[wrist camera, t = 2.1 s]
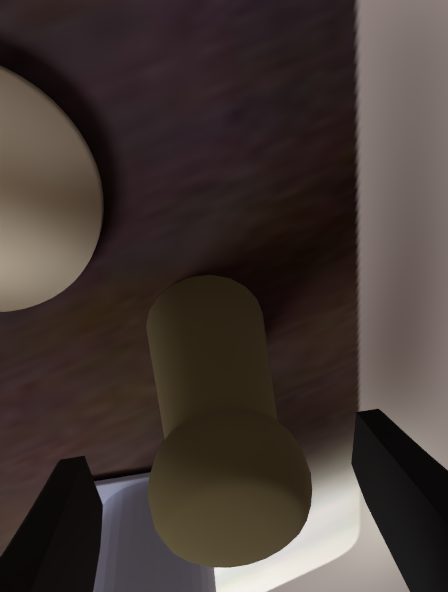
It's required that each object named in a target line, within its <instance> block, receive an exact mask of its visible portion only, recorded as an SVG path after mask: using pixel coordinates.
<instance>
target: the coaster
mask: <svg viewBox="0 0 448 592" xmlns="http://www.w3.org/2000/svg"><path fill="white" fill-rule="evenodd" d="M103 216H104V194H103V188H102V182H101V178H100V174H99V171H98V168H97V164H96V162H95V160H94V157H93V155H92V153H91V150H90V148H89V146H88V145H87V143H86V141H85V140H84V138H83V136H82V134H81V133H80V131H79V130H78V128H77V127H76V126H75V124H74V123H73V122H72V120H71V119H70V118H69V116H68V115H67V114H66V113H65V112H64V111H63V110H62V109H61V108H60V107H59V106H58V105H57V104H56V103H55V102H54V101H53V100H52V99H51V98H50V97H49V96H47V95H46V94H45V93H44V92H43V91H42V90H40V89H39V88H38V87H36V86H35V85H34V84H32V83H31V82H29V81H28V80H26V79H25V78H23V77H22V76H20V75H18V74H16V73H14V72H12V71H10V70H9V69H7V68H5V67H3V66H1V65H0V312H5V311H14V310H19V309H24V308H28V307H31V306H34V305H37V304H40V303H42V302H44V301H46V300H49V299H51V298H53V297H54V296H56V295H57V294H59V293H60V292H62V291H64V290H65V289H66V288H67V287H68V286H69V285H71V284H72V283H73V282H74V281H75V280H76V279H77V277H78V276H79V275H80V274H81V273H82V272H83V270H84V269H85V267H86V265H87V264H88V262H89V261H90V259H91V257H92V254H93V252H94V250H95V247H96V245H97V242H98V239H99V236H100V232H101V229H102V225H103Z"/></svg>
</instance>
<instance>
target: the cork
mask: <svg viewBox="0 0 448 592" xmlns="http://www.w3.org/2000/svg"><path fill="white" fill-rule="evenodd" d="M146 329H147V335H148V341H149V347H150V353H151V359H152V365H153V371H154V377H155V383H156V389H157V395H158V401H159V408H160V414H161V420H162V426H163V432H164V438H165V440H164V442H163V443H162V444H161V445H160V447H159V448H158V450H157V453H156V456H155V459H154V462H153V466H152V470H151V473H150V477H149V482H148V501H149V505H150V510H151V514H152V518H153V523H154V527H155V530H156V531H157V533H158V534H159V536H160V537H161V539H162V540H163V542H164V543H165V544H166V546H167V547H168V548H169V549H170V550H171V551H172V552H173V554H175V555H177V556H179V557H181V558H183V559H185V560H187V561H188V562H192V563H196V564H200V565H204V566H209V567H236V566H242V565H248V564H251V563H254V562H257V561H260V560H263V559H266V558H268V557H269V556H271V555H273V554H275V553H276V552H278V551H280V550H281V549H283V548H284V547H285V546H287V545H288V544H289V543H290V542H291V541H292V540H293V539H294V538H295V537H296V536H297V535H299V533H300V531H301V530H302V528H303V526H304V524H305V523H306V521H307V517H308V514H309V510H310V507H311V497H312V483H311V473H310V470H309V468H308V465H307V462H306V460H305V457H304V455H303V452H302V450H301V448H300V446H299V443H298V442H297V440H296V439H295V438H294V436H293V435H292V434H291V432H290V431H289V430H288V429H287V428H286V427H285V426H283V425H282V424H281V423H280V422H279V421H278V419H277V412H276V404H275V397H274V390H273V383H272V376H271V369H270V362H269V355H268V347H267V340H266V333H265V326H264V319H263V313H262V310H261V308H260V305H259V303H258V300H257V298H256V297H255V296H254V295H253V294H252V293H251V292H250V291H249V290H248V289H247V288H246V287H245V286H243V285H242V284H240V283H238V282H236V281H234V280H232V279H230V278H226V277H220V276H215V275H204V276H194V277H189V278H187V279H185V280H182V281H180V282H177V283H175V284H173V285H171V286H170V287H169V288H168V289H166V290H165V291H164V292H163V293H162V294H160V295H159V296H158V298H157V299H156V301H155V302H154V304H153V306H152V307H151V309H150V310H149V315H148V320H147V324H146Z"/></svg>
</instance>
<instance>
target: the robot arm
mask: <svg viewBox="0 0 448 592" xmlns="http://www.w3.org/2000/svg"><path fill="white" fill-rule="evenodd" d="M351 464H352V466H353V469H354V472H355V475H356V478H357V480H358V483H359V486H360V489H361V491H362V494H363V496H364V499H365V502H366V504H367V506H368V508H369V510H370V512H371V514H372V516H373V518H374V520H375V522H376V524H377V526H378V528H379V530H380V532H381V534H382V536H383V538H384V540H385V542H386V544H387V546H388V548H389V550H390V552H391V554H392V556H393V558H394V560H395V562H396V564H397V566H398V568H399V570H400V572H401V574H402V576H403V578H404V580H405V582H406V584H407V586H408V588H409V590H410V592H448V470H447V469H445V468H444V467H443V466H442V465H441V464H439V463H438V462H437V461H436V460H435V459H434V458H432V457H431V456H430V455H429V454H428V453H427V452H426V451H424V450H423V449H422V448H421V447H420V446H419V445H418V444H417V443H416V442H414V441H413V440H412V439H411V438H410V437H409V436H408V435H407V434H406V433H404V431H402V430H401V429H400V428H399V427H398V426H397V425H396V424H395V423H394V422H393V421H392V420H391V419H389V418H388V417H387V416H386V415H385V414H384V413H383V412H382V411H381V410H379V409H374V410H368V411H361V412H356V421H355V432H354V442H353V452H352V462H351ZM150 473H151V472H149V473H143V474H137V475H131V476H125V477H118V478H112V479H106V480H100V481H94V480H93V477H92V475H91V472H90V469H89V467H88V464H87V461H86V459H85V456H80V457H74V458H68V459H62V460H60V461H59V462H58V463H57V465H56V466H55V468H54V470H53V472H52V473H51V475H50V477H49V479H48V480H47V482H46V484H45V486H44V487H43V489H42V491H41V493H40V494H39V496H38V498H37V499H36V501H35V503H34V504H33V506H32V508H31V509H30V511H29V513H28V514H27V516H26V518H25V519H24V521H23V522H22V524H21V526H20V527H19V529H18V530H17V532H16V534H15V535H14V537H13V538H12V540H11V541H10V543H9V545H8V546H7V548H6V549H5V551H4V552H3V554H2V556H1V557H0V592H216V586H215V576H214V567H209V566H204V565H200V564H196V563H192V562H188V561H187V560H185V559H183V558H181V557H179V556H177V555H175V554H173V552H172V551H171V550H170V549H169V548H168V547H167V546H166V544H165V543H164V542H163V540H162V539H161V537H160V536H159V534H158V533H157V531H156V530H155V527H154V523H153V518H152V514H151V510H150V505H149V501H148V482H149V477H150Z"/></svg>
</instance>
